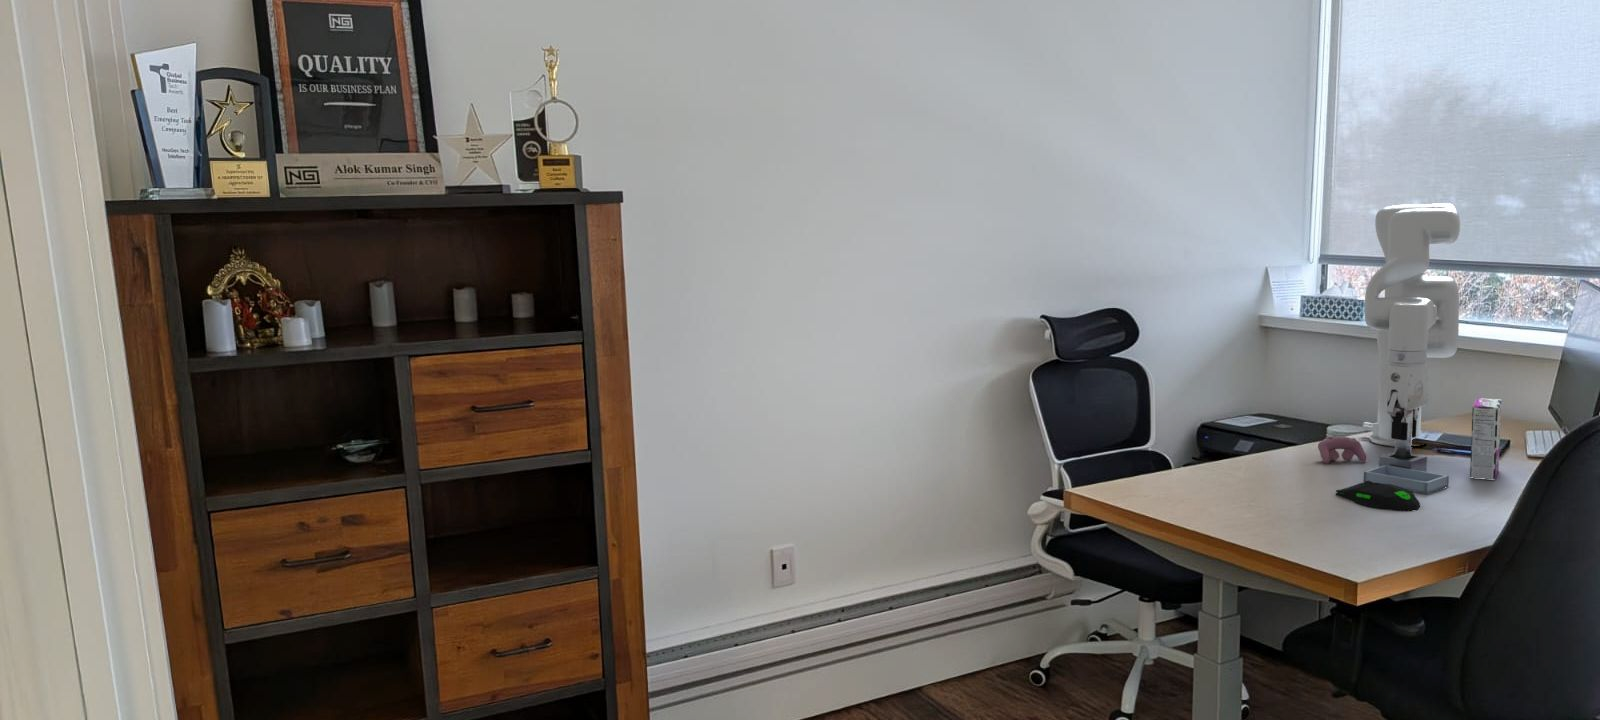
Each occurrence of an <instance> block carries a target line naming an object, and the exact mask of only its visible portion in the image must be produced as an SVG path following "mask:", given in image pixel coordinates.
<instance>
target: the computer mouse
mask: <svg viewBox="0 0 1600 720" xmlns="http://www.w3.org/2000/svg"><path fill="white" fill-rule="evenodd" d="M1414 493H1415V492H1410V491H1409V490H1407V489H1405V488H1402V487H1399V486H1395V485H1392V484H1381V483H1373V482H1371V481H1365V482H1359V483H1356V484H1354V485H1351V486H1347V487H1345V488H1341V489H1335V495H1336V496H1337V497H1340V498H1342V499H1345V500H1348V501H1350V502H1353V503H1354V504H1356V505H1359V506H1361V507H1365V508H1369V509H1374V510H1381V511H1382V510H1384V511H1393V512H1413V510H1416V511H1419V510H1420V509H1421V503H1420V502H1419V500H1418V498H1417V496H1416V495H1415V494H1414ZM1419 508H1420V509H1419Z"/></svg>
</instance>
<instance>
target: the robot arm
mask: <svg viewBox="0 0 1600 720" xmlns="http://www.w3.org/2000/svg"><path fill="white" fill-rule="evenodd" d="M1374 221H1375V233H1376V236H1377V239H1378V242H1379V244H1380V247H1381V249H1382V252H1383V255H1384V259H1385V264H1384V265H1383V266H1382V267H1380V268H1379V269H1378V270H1377V271H1376V272H1375V273H1374V274H1373V275H1372V277H1371V278H1370V280H1369V281H1368V284H1367V286H1366V290H1365V295H1364V321H1365V323H1366V326H1367V327H1368V328H1370V329H1372V330H1376V342H1377V350H1378V362H1379V367H1378V368H1379V369H1378V370H1379V375H1378V377H1379V378H1378V398H1377V399H1378V400H1377V401H1378V403H1377V422H1374V423H1373V422H1369V421H1363V423H1362V431H1365V432H1366V431H1368V432H1371V433H1372V435H1370V436H1369V441H1370V442H1371V443H1373V444H1376V445H1381V446H1387V447H1388V446H1389V447H1393V448H1395V439H1398V440H1407V431H1408V423H1406V417H1407V410H1412V409H1415V410H1413V423H1412V440H1413V439H1415V438H1416V437H1419V436H1420V437H1421V425H1422V424H1421V423H1422V422H1421V420H1422V407H1424V406H1426V405H1427V404H1428V400H1429V398H1428V397H1429V390H1428V389H1429V381H1428V380H1429V379H1428V368H1427V363H1428V362H1427V358H1431V359H1433V358H1435V359H1437V358H1438V359H1439V358H1440V359H1442V358H1443V359H1445V358H1446V359H1447V358H1451V357H1453V356H1455V354H1456V352H1457V350H1458V346H1459V333H1460V332H1459V328H1460V327H1459V326H1460V325H1459V323H1460V322H1459V321H1460V317H1459V316H1460V293H1459V286H1458V283H1457V282H1456V280H1455V279H1454V278H1452V277H1450V276H1444V275H1429V276H1428V275H1425V272H1426V271H1427V270H1428V269H1429V266H1430V245H1450V244H1454V243H1455V242H1456V241H1457V240H1458V238H1459V236H1460V235H1459V234H1460V232H1461V220H1460V215H1459V212H1458V211H1457V208H1456V207H1455V205H1453V204H1452V203H1432V204H1431V203H1430V204H1429V203H1427V204H1400V205H1399V204H1398V205H1391V206H1386V207H1383V208H1381V209H1379V210H1378V212H1377V213H1376V215H1375V220H1374ZM1383 291H1384V297H1380V294H1381V293H1382V292H1383ZM1397 405H1399V406H1401V408H1397ZM1402 408H1403V409H1402ZM1416 408H1417V409H1416ZM1398 411H1402V415H1401V413H1400V412H1398Z"/></svg>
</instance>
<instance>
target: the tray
mask: <svg viewBox="0 0 1600 720" xmlns="http://www.w3.org/2000/svg"><path fill="white" fill-rule="evenodd" d="M1449 477H1450V476H1449V475H1448V474H1441V473H1436V472H1435V473H1434V472H1430V471H1426V472H1424V471H1418V470H1412V469H1406V468H1400V467H1394V466H1388V465H1384V466H1381V467H1379V466H1378V467H1374V468H1372V469H1368V470H1365V471H1363V480H1362V481H1363V482H1365V481H1371V482H1373V483H1381V484H1392V485H1395V486H1399V487H1402V488H1405V489H1407V490H1409V491H1413V492H1412V493H1416V492H1419V493H1418V494H1421V493H1423V494H1422V495H1426V494H1427V495H1430V494H1432V492H1433V493H1435V492H1434V491H1436V492H1438V491H1437V490H1439V491H1440V489H1441V490H1444V489H1446V488H1445V487H1447V488H1449V481H1450V479H1449ZM1363 482H1362V483H1363ZM1443 488H1444V489H1443ZM1429 493H1430V494H1429Z"/></svg>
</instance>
